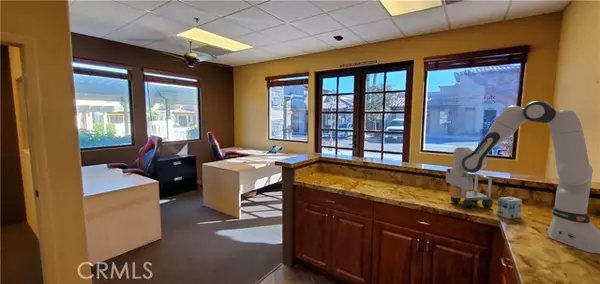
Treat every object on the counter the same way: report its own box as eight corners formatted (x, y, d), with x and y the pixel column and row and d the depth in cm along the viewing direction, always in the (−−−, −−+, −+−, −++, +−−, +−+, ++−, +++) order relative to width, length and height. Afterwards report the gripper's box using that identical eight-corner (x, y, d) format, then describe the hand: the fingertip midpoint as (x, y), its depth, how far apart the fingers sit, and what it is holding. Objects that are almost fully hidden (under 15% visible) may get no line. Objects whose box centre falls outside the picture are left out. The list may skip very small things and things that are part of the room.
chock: (466, 197, 165) (467, 188, 165) (454, 197, 164) (455, 188, 164) (460, 195, 170) (461, 186, 170) (449, 195, 169) (449, 186, 169)
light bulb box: (507, 218, 153) (509, 201, 152) (496, 214, 159) (497, 197, 158) (520, 217, 156) (522, 199, 155) (509, 213, 162) (511, 196, 161)
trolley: (492, 208, 170) (495, 177, 168) (464, 209, 167) (467, 178, 165) (476, 201, 183) (479, 173, 181) (450, 202, 180) (452, 173, 178)
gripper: (477, 176, 156) (475, 198, 157) (453, 168, 176) (451, 188, 177) (467, 176, 155) (465, 198, 156) (444, 168, 175) (443, 188, 177)
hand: (457, 193), depth 167 cm, fingers closed on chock, 5 cm apart
